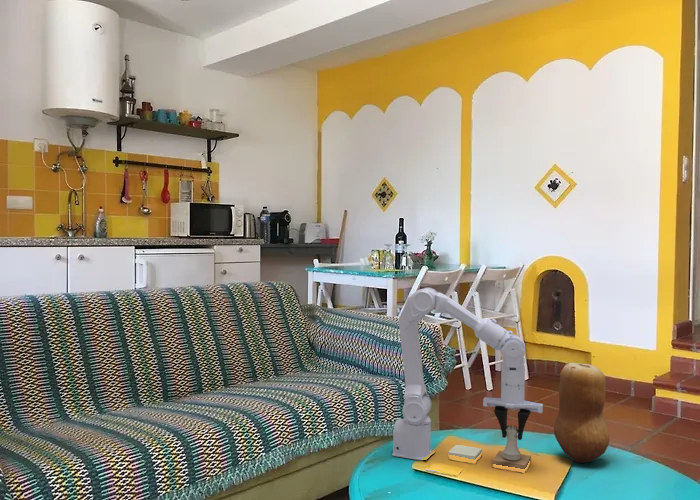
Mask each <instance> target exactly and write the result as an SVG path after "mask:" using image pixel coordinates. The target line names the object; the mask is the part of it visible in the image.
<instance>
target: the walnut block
mask: <svg viewBox="0 0 700 500" xmlns="http://www.w3.org/2000/svg"><path fill="white" fill-rule="evenodd" d="M503 454H504V453H503V450H499V451H498V452H497V453H496V455H495V456H494V457H493V459H492V463H491V465H492V464H496V465H502V466H508V467H515V468H520V469H525V468H526V467H527V465H528V463H529V461H530V460H531V461H532V455H529V454H522V453H521V454H520V455H519V456H520V457H521V458H520V459H519V460H518V461H510V460H506V459H504V457H503Z"/></svg>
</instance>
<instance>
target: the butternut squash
mask: <svg viewBox="0 0 700 500" xmlns="http://www.w3.org/2000/svg"><path fill="white" fill-rule="evenodd" d="M559 377H560V379H559V386H558V399H559V400H558V403H559V404H558V413H557V415H556V418H555V421H554V425H553V433H554V437H555V438H554V439H555V440H556V442H557V443H558V445H559V447H560V448H561V450H562V451H563V452H564V454H565V455H567V456H568V457H569V459H571V460H572V461H573V462H575V463H578V464H584V463H590V462H593V461H595V460H597V459H599V458H600V457H601V456H603V455H604V454H605V452H606V451H607V449H608V448H609V444H610V432H609V429H608V426H607V423H606V420H605V419H604V414H603V413H604V412H603V411H604V406H605V404H606V403H605V402H606V397H607V396H606V395H607V394H606V393H607V391H606V390H607V386H606V385H607V384H606V381H607V379H606V375H605V374H604V372H603V371H602V370H601V369H600V368H599V367H597V366H595V365H593V364H589V363H580V362H579V363H578V362H577V363H576V362H569V363H566V364H565V365H564V367H563V368H562V370H561V371H560V373H559Z"/></svg>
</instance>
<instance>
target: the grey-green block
mask: <svg viewBox="0 0 700 500" xmlns="http://www.w3.org/2000/svg"><path fill="white" fill-rule="evenodd" d="M481 452H482V453H483V448H479V447H475V446H468V445H461V444H455V445H454V446H453V447H452V448H450V450H449V451H448V452H447V453H448V454H449V455H455V456H459V457H465V458H468V459H473V460H475V459H476V458H477V457H478V456H479V455H480V454H481Z"/></svg>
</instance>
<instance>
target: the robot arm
mask: <svg viewBox="0 0 700 500" xmlns="http://www.w3.org/2000/svg"><path fill="white" fill-rule="evenodd" d="M432 311H434V313H436V314H447V315H449V316H451V317H452V318H454V319H456V320H458V321H459V322H460V323H463V324H464V325H466V326H468V327H469V328H471V329H472V330H473V332H474V335H475V337H476V338H477V339H479V340H480V341H482V342H483V343H484V344H486V345H488V346H490V347H491V348H492V349H494V350H495V351H500V354H501V356H502V364H501V371H500V372H501V378H500V379H501V380H500V381H501V383H500V385H501V386H500V389H501V390H500V397H484V398H482V400H483V401H482V402H483V403H482V405H483V406H482V407H492V408H494V410H493V412H494V415H495V416H496V419H497V422H498V424H499V427H500V430H501V435H502V438H503V439H505V438H507V436H506V435H507V432H506V428H507V426H508V424H507V423H508V422H507V421H508V409H510V410H518V412H517V423H518V424H517V425H518V426H517V429H518V433H517V436H518V437H517V441H522V440H523V435H524V430H525V426H526V423H527V421H528V419H529V416H530V415H531V414H532V412H533V413H534V412H535V413H538V414H543V412H544V404H543V403H538V402H533V401H528V400H525V395H526V394H525V391H526V390H525V386H526V385H525V384H526V383H525V382H526V381H525V380H526V374H525V373H526V367H525V354H526V344H525V341H524V339H522V338H521V337H520V335H518V334H514V332H513V331H512V330H507V329H506V328H504V327H502V326H501V325H499V324H498V323H497V320H496V319H495V318H492V319H490V318H489V317H485V318H480V317H478V316H477V315H475V314H474V313H472V312H471V311H469V310H468V309H467V308H465V307H464V306H462V305H461V304H459V303H458V302H456V300H454V299H452V298H451V297H449V296H447V295H445V294H444V293H442V292H440V291H438V290H437V289H434V288H432V287H424V288H420V289H418V290H415V291H414V292H413V293H412V294H411V295H410V296H409V297H408V298H407V300H406V303H405V305H404V307H403V310H401V313H400V315H399V318H398V327H399V328H398V329H399V339H400V347H401V356H402V364H403V372H404V373H403V374H404V383H405V388H404V394H403V395H404V402H403V403H404V404H403V406H402V409H401V410H402V411H401V413H402V416H403V418H398V419H397V420H396V421H395V423H394V425H393V438H392V441H393V442H392V447H393V448H392V454H391V456H392V457H399V458H404V459H409V460H410V459H411V460H416V461H421V459H423V458H424V457H426V456H427V455H428V454H430V452H431V451H432V450H431V434H432V433H431V432H432V431H431V428H432V427H431V426H432V425H431V423H432V420H431V418H430V416H429V415H428V414H429V413H430V411H431V410H432V407H433V406H432V405H433V403H432V399H431V398H430V397H429V394H428V391H427V387H426V384H425V378H424V371H423V361H422V353H421V344H420V342H421V341H420V334H419V323H420V322H421V321H422V320H423V318H425V316H426V315H427V314H430V313H431V312H432Z"/></svg>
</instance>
